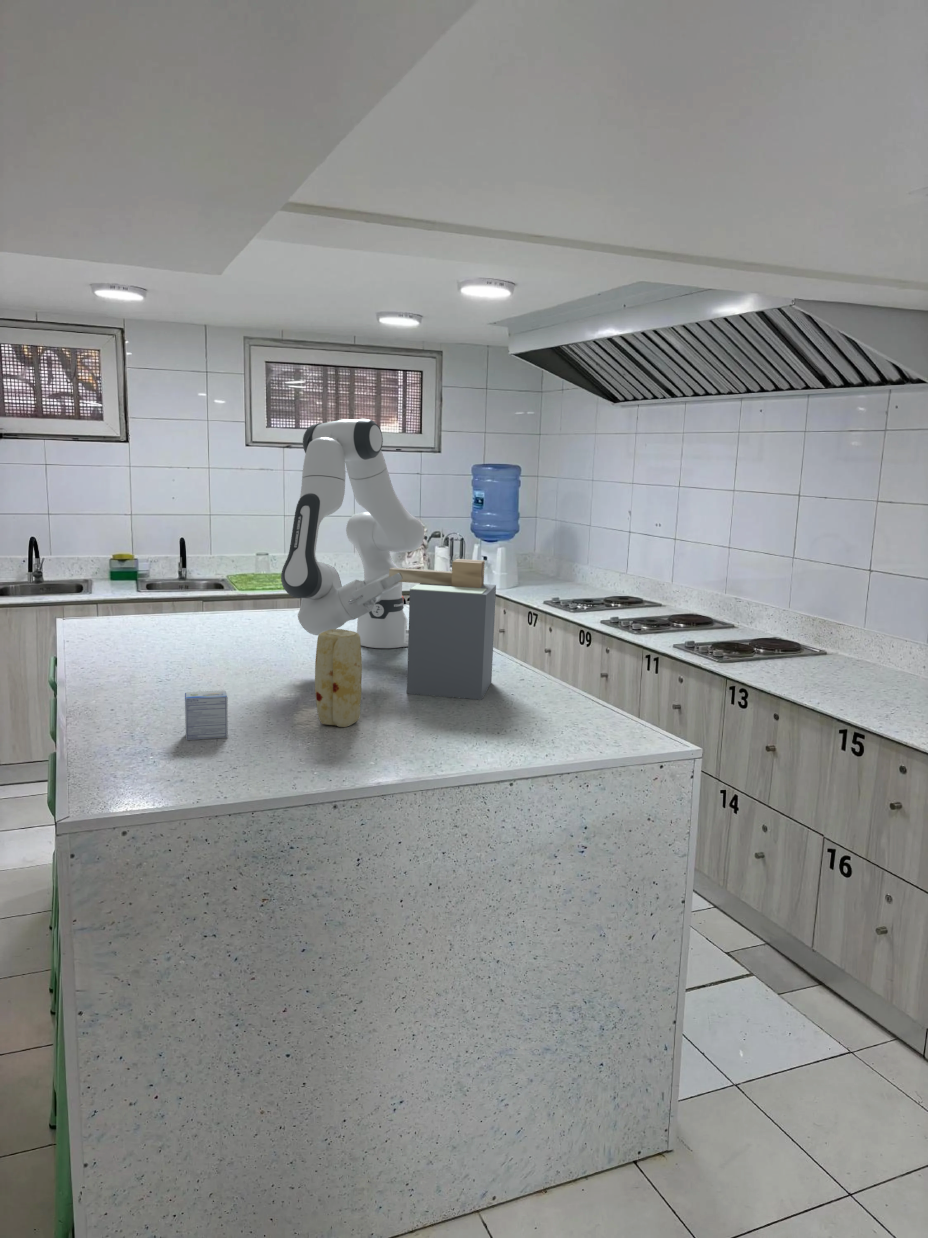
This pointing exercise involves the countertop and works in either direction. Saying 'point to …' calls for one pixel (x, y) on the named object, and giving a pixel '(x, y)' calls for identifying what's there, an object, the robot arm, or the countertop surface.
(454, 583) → the mallet
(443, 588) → the stand
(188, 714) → the medicine box
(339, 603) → the robot arm
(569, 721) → the countertop surface
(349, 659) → the food model
